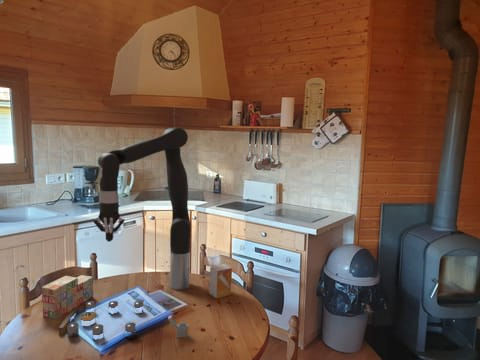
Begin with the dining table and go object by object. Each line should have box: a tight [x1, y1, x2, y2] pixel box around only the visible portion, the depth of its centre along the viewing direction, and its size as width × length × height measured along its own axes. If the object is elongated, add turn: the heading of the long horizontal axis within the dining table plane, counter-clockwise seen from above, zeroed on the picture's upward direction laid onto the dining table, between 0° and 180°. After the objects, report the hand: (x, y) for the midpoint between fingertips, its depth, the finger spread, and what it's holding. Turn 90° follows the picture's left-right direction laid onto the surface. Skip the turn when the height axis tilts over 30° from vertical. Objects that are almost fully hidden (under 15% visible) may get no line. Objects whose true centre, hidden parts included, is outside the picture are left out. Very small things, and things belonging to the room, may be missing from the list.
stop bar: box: [58, 307, 78, 335], centre depth 140 cm, size 2×15×2 cm, turn 6°
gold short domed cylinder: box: [80, 312, 96, 321], centre depth 141 cm, size 5×5×4 cm
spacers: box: [66, 300, 144, 339], centre depth 141 cm, size 24×22×4 cm
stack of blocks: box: [41, 274, 94, 320], centre depth 153 cm, size 21×6×12 cm, turn 161°
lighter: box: [167, 314, 189, 339], centre depth 134 cm, size 7×2×8 cm, turn 100°
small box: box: [208, 263, 233, 299], centre depth 170 cm, size 8×6×13 cm
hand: (109, 240), depth 157 cm, fingers closed
